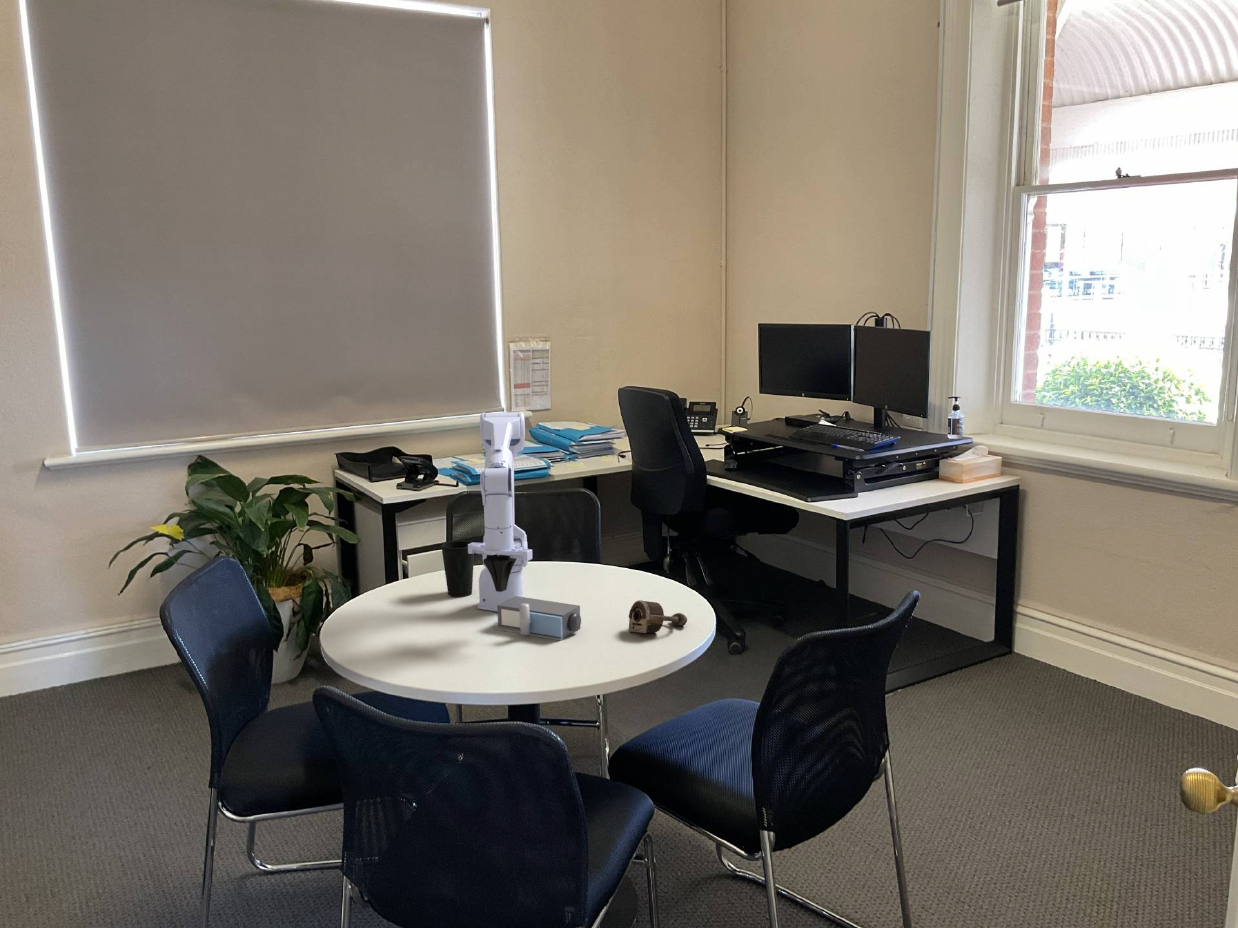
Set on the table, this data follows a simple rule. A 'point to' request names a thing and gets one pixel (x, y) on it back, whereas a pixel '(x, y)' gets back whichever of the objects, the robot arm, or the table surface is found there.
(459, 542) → the cup
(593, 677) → the table surface
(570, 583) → the table surface
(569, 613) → the housing
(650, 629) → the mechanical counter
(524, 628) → the door
